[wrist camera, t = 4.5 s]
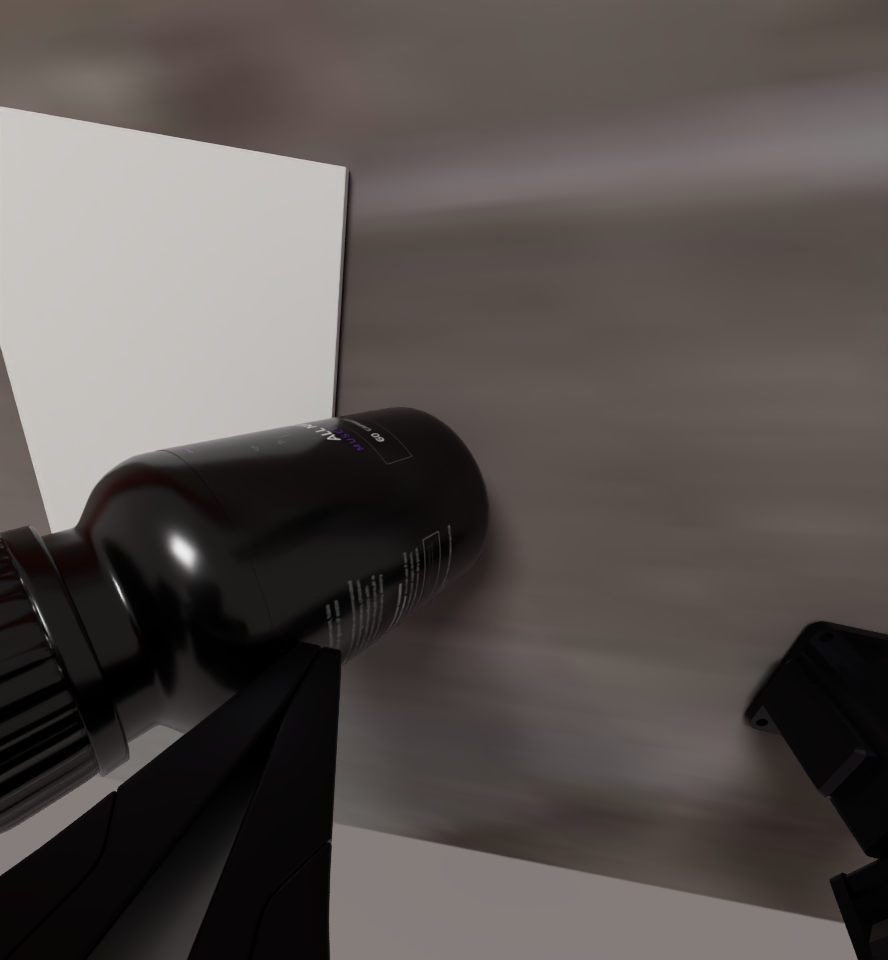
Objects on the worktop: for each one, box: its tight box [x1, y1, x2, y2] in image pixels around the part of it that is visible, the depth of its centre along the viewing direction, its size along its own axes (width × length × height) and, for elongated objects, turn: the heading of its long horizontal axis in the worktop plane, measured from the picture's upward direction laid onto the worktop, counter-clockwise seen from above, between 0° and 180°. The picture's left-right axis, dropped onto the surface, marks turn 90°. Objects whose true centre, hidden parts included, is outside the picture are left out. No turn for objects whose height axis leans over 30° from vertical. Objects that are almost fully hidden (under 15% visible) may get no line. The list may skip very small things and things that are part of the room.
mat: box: [0, 107, 349, 533], centre depth 18 cm, size 14×20×1 cm
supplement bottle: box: [0, 407, 489, 834], centre depth 11 cm, size 7×7×12 cm
